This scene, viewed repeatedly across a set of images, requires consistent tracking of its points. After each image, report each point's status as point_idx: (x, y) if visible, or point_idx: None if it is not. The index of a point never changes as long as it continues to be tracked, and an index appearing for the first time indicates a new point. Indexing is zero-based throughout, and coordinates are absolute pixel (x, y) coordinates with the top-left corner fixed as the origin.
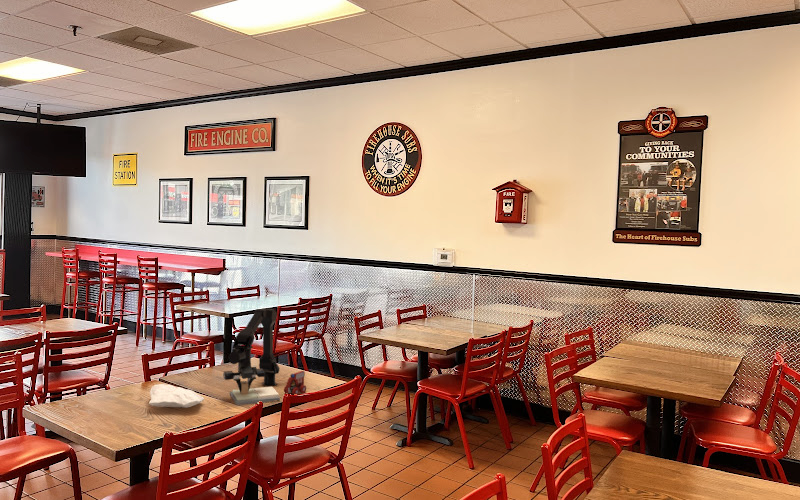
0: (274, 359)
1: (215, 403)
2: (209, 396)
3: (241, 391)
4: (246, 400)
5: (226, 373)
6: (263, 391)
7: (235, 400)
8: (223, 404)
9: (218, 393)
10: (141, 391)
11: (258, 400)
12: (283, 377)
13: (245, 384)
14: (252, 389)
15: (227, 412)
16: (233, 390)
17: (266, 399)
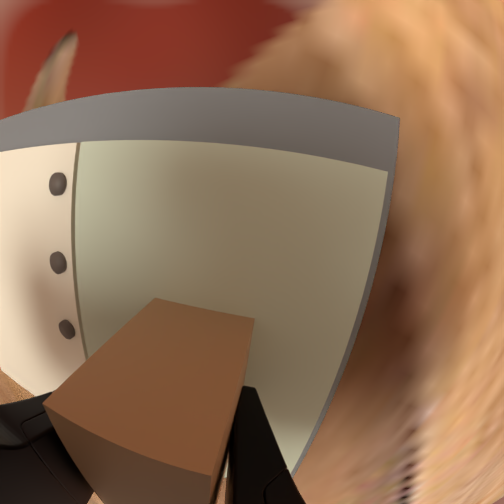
0: None
1: (499, 308)
2: (417, 461)
3: (243, 372)
4: (248, 117)
5: None
6: (20, 302)
7: (387, 213)
8: (477, 243)
9: (340, 490)
10: (492, 493)
11: (111, 95)
12: None
13: (112, 427)
14: None
15: (475, 14)
16: None
17: (49, 107)
